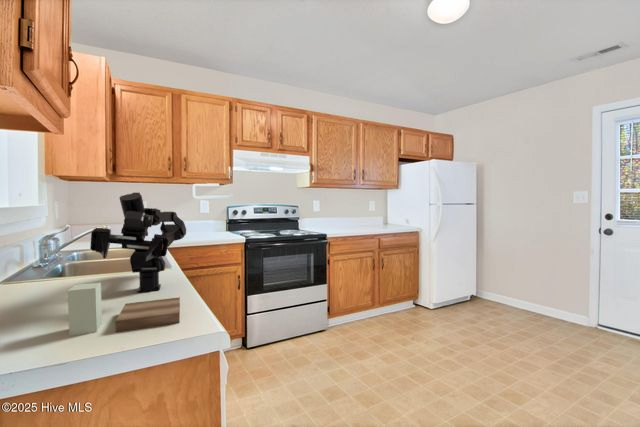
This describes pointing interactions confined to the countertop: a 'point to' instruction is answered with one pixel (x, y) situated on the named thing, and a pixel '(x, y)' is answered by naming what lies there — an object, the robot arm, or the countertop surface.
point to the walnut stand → (148, 314)
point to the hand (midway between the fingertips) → (125, 258)
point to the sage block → (84, 308)
